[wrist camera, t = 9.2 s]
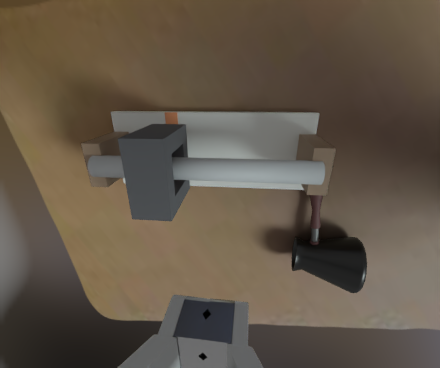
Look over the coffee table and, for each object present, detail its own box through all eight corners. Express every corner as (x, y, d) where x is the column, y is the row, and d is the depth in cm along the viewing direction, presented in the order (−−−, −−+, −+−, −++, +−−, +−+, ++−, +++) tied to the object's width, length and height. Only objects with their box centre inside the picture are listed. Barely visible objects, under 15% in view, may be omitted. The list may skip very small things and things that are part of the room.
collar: (185, 124, 26) (163, 139, 19) (189, 187, 30) (171, 221, 22) (152, 123, 27) (117, 138, 20) (159, 186, 30) (132, 219, 23)
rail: (316, 112, 28) (348, 124, 20) (305, 186, 32) (326, 224, 24) (115, 111, 31) (64, 121, 22) (127, 180, 35) (88, 211, 26)
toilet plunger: (344, 271, 37) (289, 261, 39) (371, 160, 32) (306, 155, 34) (359, 306, 30) (291, 292, 32) (397, 172, 25) (313, 164, 27)
